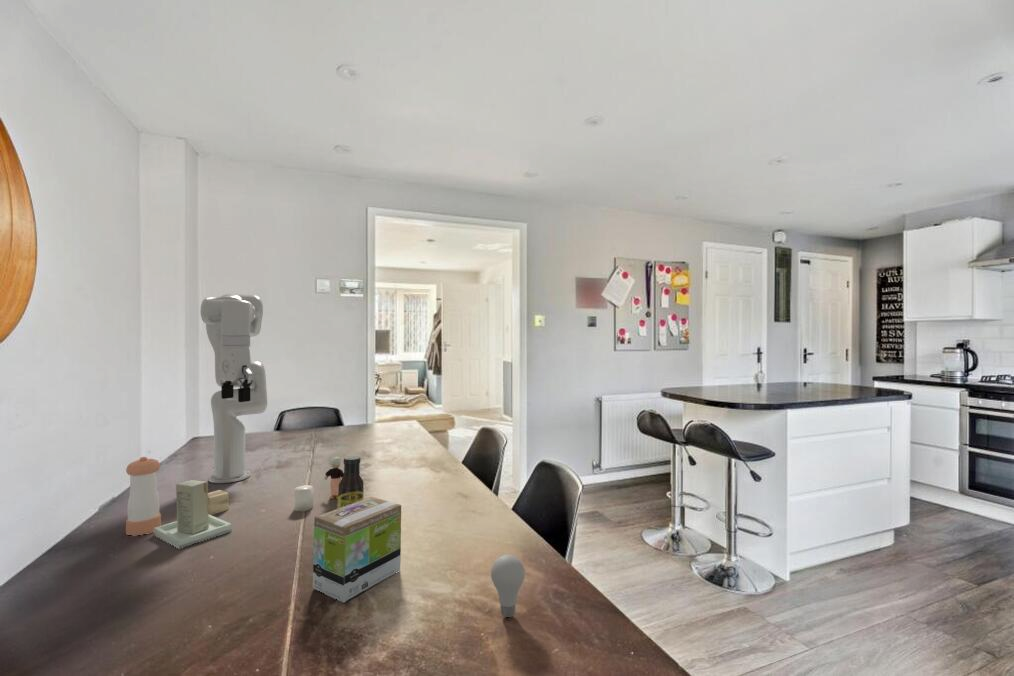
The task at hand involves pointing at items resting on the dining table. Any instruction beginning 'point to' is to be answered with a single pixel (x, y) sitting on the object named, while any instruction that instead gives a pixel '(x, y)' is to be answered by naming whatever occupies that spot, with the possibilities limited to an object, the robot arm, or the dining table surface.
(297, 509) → the cream cylinder
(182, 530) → the skincare box
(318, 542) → the tea box
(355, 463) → the sauce bottle
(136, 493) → the salt shaker
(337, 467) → the grandmother figurine
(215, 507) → the beech block
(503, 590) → the lightbulb
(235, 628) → the dining table surface
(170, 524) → the tray
